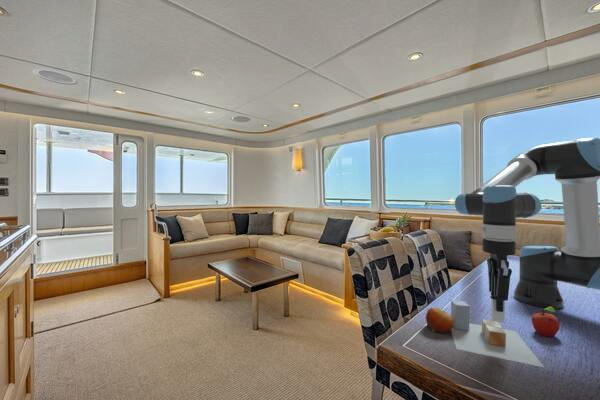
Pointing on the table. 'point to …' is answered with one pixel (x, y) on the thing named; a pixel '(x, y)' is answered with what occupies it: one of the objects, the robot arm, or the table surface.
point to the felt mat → (478, 344)
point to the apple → (545, 323)
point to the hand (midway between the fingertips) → (497, 320)
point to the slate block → (460, 314)
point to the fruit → (439, 320)
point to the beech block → (493, 333)
